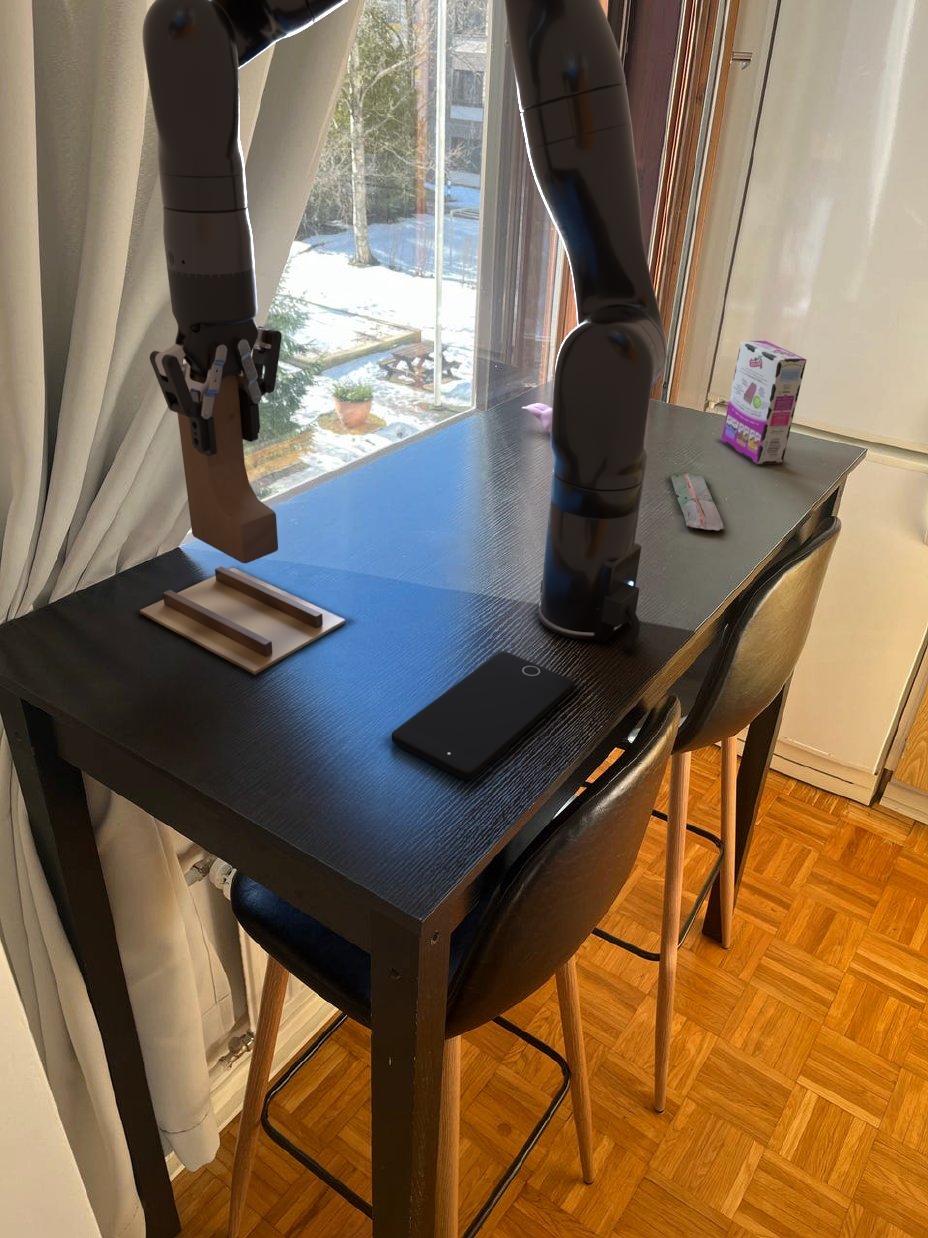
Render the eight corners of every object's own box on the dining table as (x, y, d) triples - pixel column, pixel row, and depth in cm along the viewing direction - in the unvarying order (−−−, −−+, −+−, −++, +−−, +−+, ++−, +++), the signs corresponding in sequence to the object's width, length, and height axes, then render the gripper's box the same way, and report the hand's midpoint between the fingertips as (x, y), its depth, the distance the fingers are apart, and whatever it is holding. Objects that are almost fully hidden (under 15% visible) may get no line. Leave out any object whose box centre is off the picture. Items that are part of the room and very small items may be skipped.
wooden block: (280, 551, 97) (268, 377, 87) (244, 566, 94) (228, 387, 84) (226, 523, 102) (209, 356, 92) (190, 536, 99) (169, 365, 89)
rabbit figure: (604, 449, 153) (534, 411, 161) (613, 416, 150) (542, 379, 157) (580, 459, 149) (510, 420, 157) (589, 425, 146) (517, 386, 153)
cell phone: (576, 688, 93) (577, 680, 93) (468, 783, 80) (469, 775, 80) (501, 656, 97) (502, 649, 97) (388, 742, 85) (388, 733, 84)
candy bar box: (784, 463, 148) (809, 358, 139) (757, 466, 146) (779, 360, 138) (746, 438, 157) (766, 338, 148) (719, 440, 156) (738, 340, 147)
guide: (345, 622, 102) (345, 607, 101) (254, 674, 93) (253, 658, 92) (233, 570, 111) (231, 555, 110) (140, 613, 102) (137, 598, 101)
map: (701, 478, 142) (702, 472, 142) (726, 531, 124) (727, 525, 124) (668, 476, 143) (668, 470, 142) (688, 529, 125) (689, 522, 124)
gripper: (171, 280, 76) (194, 477, 85) (299, 257, 86) (308, 436, 95) (114, 266, 80) (142, 456, 89) (243, 245, 90) (257, 419, 99)
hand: (228, 445), depth 92 cm, fingers closed on wooden block, 4 cm apart
